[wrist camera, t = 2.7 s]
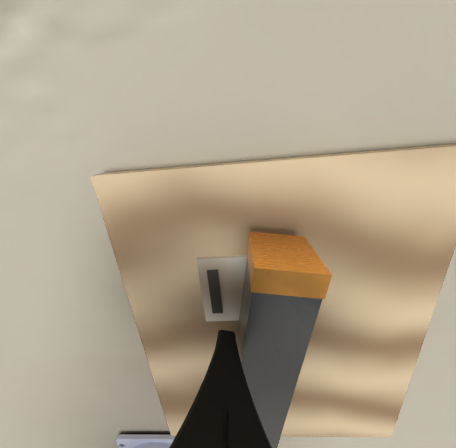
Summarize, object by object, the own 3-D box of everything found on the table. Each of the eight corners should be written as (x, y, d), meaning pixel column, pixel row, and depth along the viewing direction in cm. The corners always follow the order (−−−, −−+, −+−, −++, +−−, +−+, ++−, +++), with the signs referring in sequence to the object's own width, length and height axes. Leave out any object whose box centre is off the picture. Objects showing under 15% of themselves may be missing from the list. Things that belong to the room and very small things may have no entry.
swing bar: (257, 450, 17) (262, 515, 14) (217, 446, 17) (213, 510, 14) (311, 237, 10) (341, 276, 7) (243, 230, 10) (245, 267, 7)
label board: (381, 418, 18) (396, 447, 16) (174, 418, 19) (168, 445, 18) (462, 143, 10) (507, 143, 8) (104, 172, 11) (81, 178, 10)
